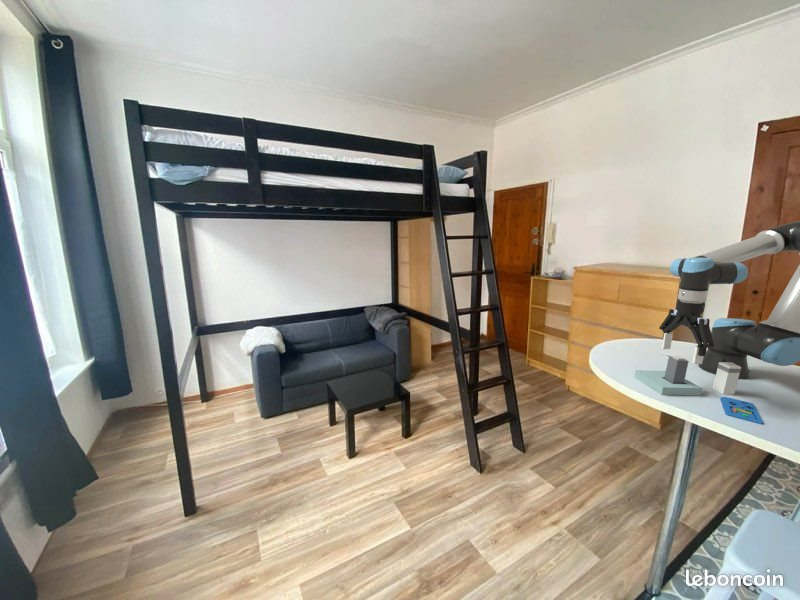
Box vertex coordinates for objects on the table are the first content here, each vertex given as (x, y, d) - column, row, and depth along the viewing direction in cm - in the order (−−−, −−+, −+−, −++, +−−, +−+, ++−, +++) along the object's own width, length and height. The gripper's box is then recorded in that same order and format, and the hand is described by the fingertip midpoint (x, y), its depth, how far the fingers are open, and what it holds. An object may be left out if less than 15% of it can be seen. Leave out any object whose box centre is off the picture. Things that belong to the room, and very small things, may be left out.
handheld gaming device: (753, 402, 107) (764, 423, 95) (752, 405, 107) (763, 426, 96) (719, 394, 112) (726, 413, 100) (719, 397, 112) (725, 416, 101)
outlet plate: (668, 377, 126) (670, 370, 125) (700, 395, 113) (702, 387, 112) (634, 377, 127) (635, 370, 126) (661, 394, 113) (662, 387, 112)
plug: (673, 385, 120) (679, 355, 117) (682, 390, 116) (689, 359, 113) (662, 385, 120) (669, 355, 117) (671, 390, 116) (677, 359, 113)
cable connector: (723, 388, 117) (730, 360, 114) (734, 394, 113) (742, 365, 110) (712, 388, 117) (719, 360, 115) (722, 394, 113) (730, 365, 111)
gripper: (653, 294, 123) (645, 343, 127) (713, 310, 98) (700, 370, 103) (672, 293, 122) (664, 343, 127) (737, 309, 98) (724, 370, 103)
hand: (680, 355), depth 115 cm, fingers open, 13 cm apart
